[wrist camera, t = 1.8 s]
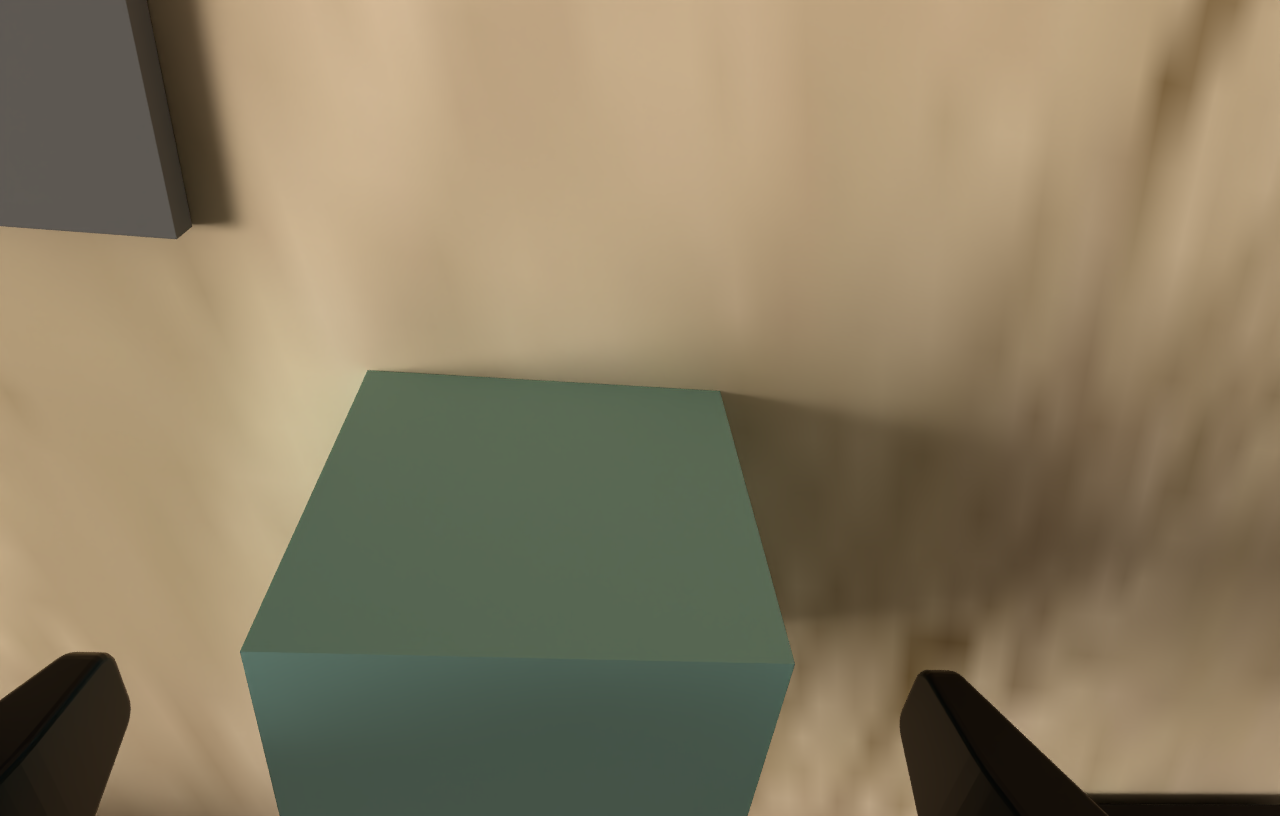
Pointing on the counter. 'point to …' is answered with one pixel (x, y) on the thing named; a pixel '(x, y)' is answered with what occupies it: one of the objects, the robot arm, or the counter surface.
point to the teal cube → (521, 609)
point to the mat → (86, 121)
